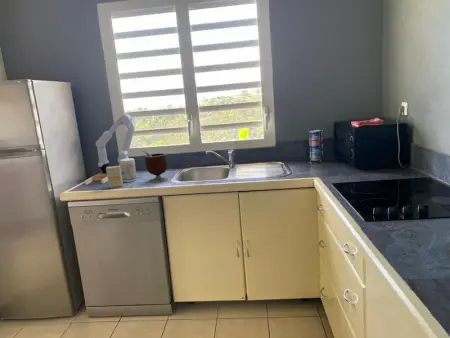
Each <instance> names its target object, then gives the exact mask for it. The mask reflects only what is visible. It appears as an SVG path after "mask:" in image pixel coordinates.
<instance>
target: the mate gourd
mask: <svg viewBox="0 0 450 338" xmlns="http://www.w3.org/2000/svg"><path fill="white" fill-rule="evenodd" d="M142 152H143V153H145V154H146V155H145V167H146V171H147V172H148V173H149V174H150V175H154V176H155V177H154V178H150V179H149V180H148V182H149V183H152V184H153V183H154V184H157V183H164V182H166V181H168V180H169V178H167V177H166V176H165V177H164V176H161V175H163V174H165V173H166V171H167V169H168V159H167V155H166V153H163V152H162V153H161V152H159V153H158V152H157V153H150V152H148V151H146V150H143V151H142Z"/></svg>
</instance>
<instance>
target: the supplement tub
mask: <svg viewBox="0 0 450 338" xmlns="http://www.w3.org/2000/svg"><path fill="white" fill-rule="evenodd" d="M120 166H121V174H122V181H123V183H131V182H135V181H137V178H138V177H137V169H136V168H137V167H136V162H135V158H132V157H131V158H130V157H129V158H127V159H122V160H120Z"/></svg>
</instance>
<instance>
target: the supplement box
mask: <svg viewBox="0 0 450 338" xmlns="http://www.w3.org/2000/svg"><path fill="white" fill-rule="evenodd" d="M106 171H107V177H108V181H107V182H108V188H109V189H113V188H123V186H124V182H123V181H122V174H121V168H120V166H119V165H113V166H108V167H107V168H106Z"/></svg>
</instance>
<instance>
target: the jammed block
mask: <svg viewBox="0 0 450 338" xmlns="http://www.w3.org/2000/svg"><path fill="white" fill-rule="evenodd" d="M92 177H93V180H94V181H93V182H95V181H101V180H102V179H104V178H105V177H107V174H103V173H97V174H93V176H92Z"/></svg>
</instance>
